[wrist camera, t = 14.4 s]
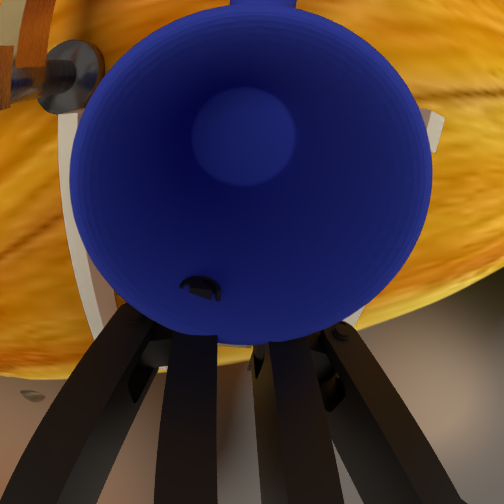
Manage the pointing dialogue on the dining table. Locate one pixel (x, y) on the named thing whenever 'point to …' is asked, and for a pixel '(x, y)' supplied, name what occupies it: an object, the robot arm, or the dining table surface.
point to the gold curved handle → (29, 53)
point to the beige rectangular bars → (87, 276)
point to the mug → (251, 173)
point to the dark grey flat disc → (86, 79)
